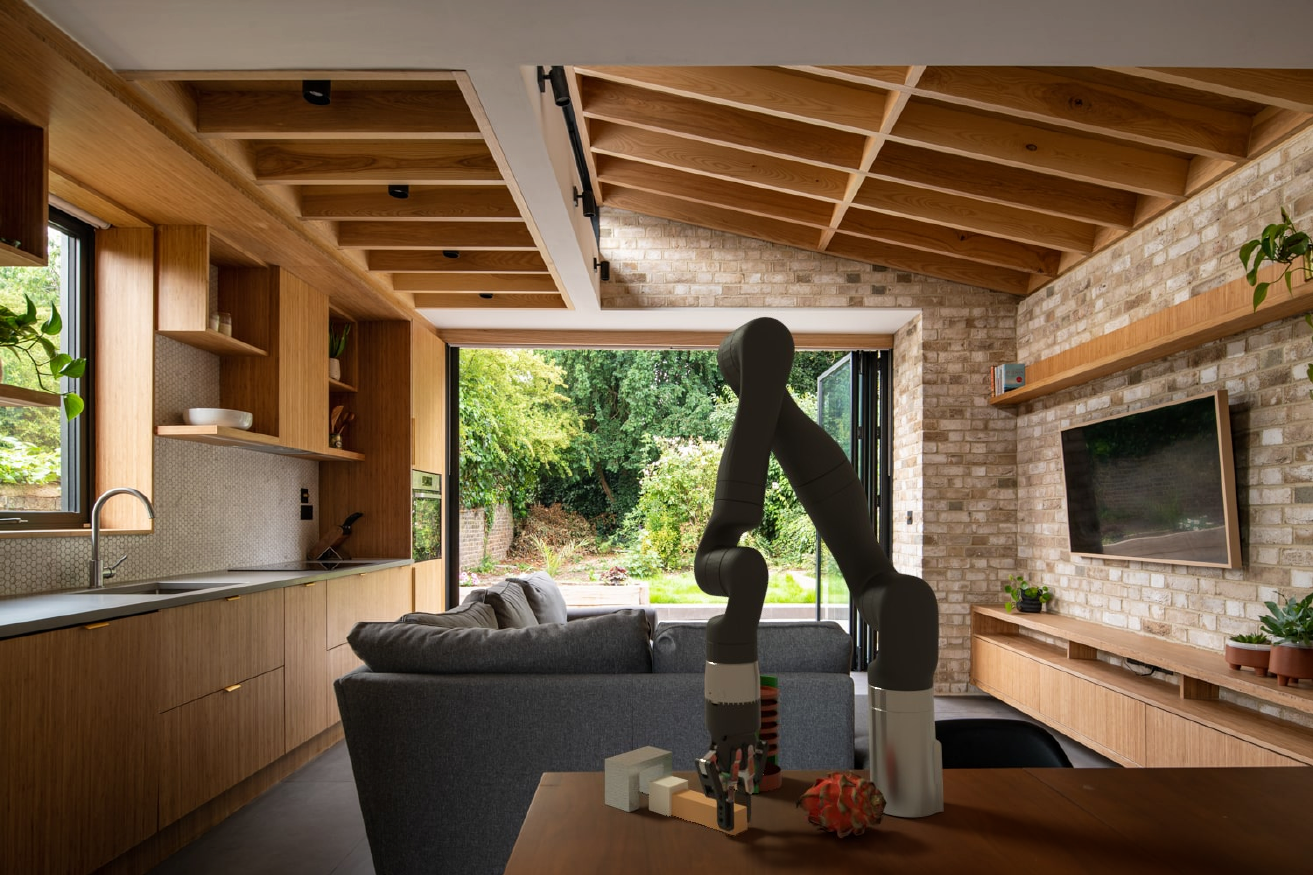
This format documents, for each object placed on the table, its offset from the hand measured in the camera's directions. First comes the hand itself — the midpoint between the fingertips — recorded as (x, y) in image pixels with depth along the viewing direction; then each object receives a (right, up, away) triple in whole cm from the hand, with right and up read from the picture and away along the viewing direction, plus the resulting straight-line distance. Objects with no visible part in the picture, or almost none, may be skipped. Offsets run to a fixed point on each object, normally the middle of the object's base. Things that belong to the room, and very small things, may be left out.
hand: (734, 824), depth 114 cm
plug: (-5, -1, +4) cm, 7 cm away
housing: (-13, -2, +12) cm, 18 cm away
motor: (+5, -3, +19) cm, 20 cm away
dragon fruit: (+14, -1, -1) cm, 14 cm away
